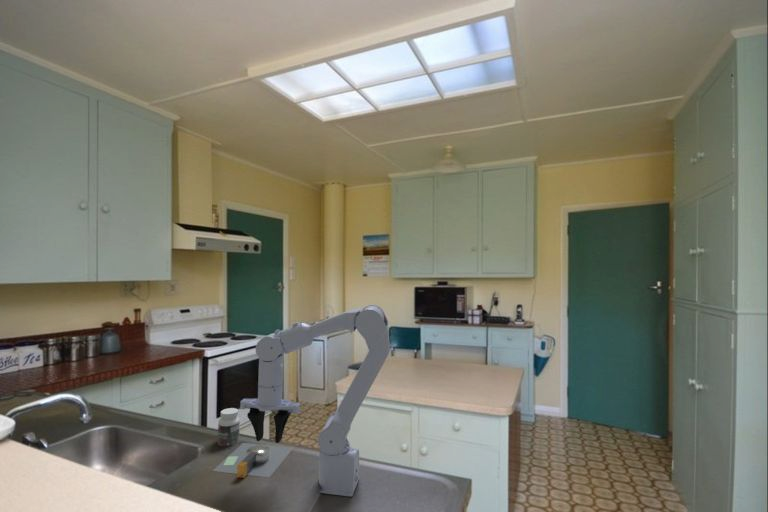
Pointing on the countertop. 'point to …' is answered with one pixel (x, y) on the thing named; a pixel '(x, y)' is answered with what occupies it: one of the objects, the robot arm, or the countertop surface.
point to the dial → (253, 459)
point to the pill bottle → (228, 427)
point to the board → (262, 470)
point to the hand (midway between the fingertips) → (269, 440)
